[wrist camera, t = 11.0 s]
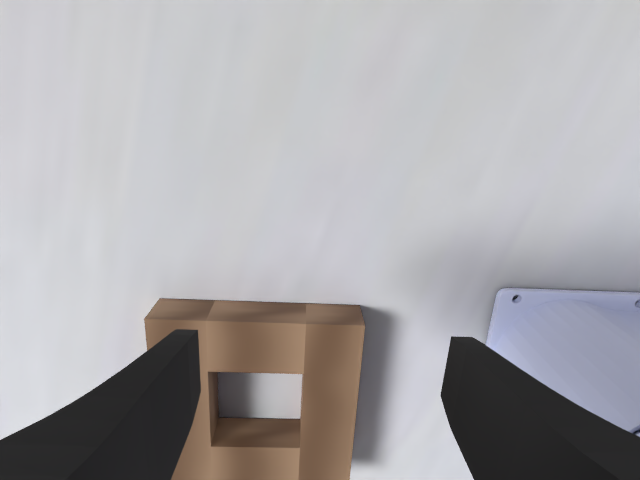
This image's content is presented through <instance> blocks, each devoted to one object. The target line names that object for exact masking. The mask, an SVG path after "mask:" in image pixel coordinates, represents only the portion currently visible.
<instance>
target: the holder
mask: <svg viewBox="0 0 640 480" xmlns="http://www.w3.org/2000/svg"><path fill="white" fill-rule="evenodd" d="M144 321H145V331H146V342H147V351H148V350H149V349H150V348H152V347H153V346H154V345H156V344H157V343H158V342H159V341H161V340H162V339H163V338H165V337H166V336H167V335H169V334H170V333H171V332H173V331H174V330H176V329H188V330H198V339H199V359H200V380H201V393H200V397H199V401H198V405H197V409H196V413H195V417H194V420H193V424H192V427H191V430H190V432H189V435H188V437H187V440H186V443H185V445H184V448H183V450H182V453H181V455H180V458H179V460H178V463H177V465H176V468H175V470H174V473H173V475H172V478H171V480H349V479H350V469H351V459H352V450H353V440H354V430H355V420H356V410H357V401H358V391H359V381H360V371H361V361H362V352H363V342H364V332H365V323H364V320H363V316H362V312H361V308H360V305H338V304H308V303H278V302H248V301H218V300H188V299H159V300H158V301H157V303H156V304H155V305H154V307H153V308H152V309H151V311H150V312H149V313H148V315H147V316H146V317H145V319H144ZM217 372H245V373H286V374H303V378H302V398H301V419H257V418H219V406H218V375H217Z"/></svg>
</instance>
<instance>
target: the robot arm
mask: <svg viewBox="0 0 640 480" xmlns="http://www.w3.org/2000/svg"><path fill="white" fill-rule="evenodd" d="M515 295H518V297H517V298H516V299H515V300H512V298H513V297H514V296H515ZM637 300H639V301H638V302H637V303H636V304H635V302H636V301H637ZM200 393H201V380H200V359H199V339H198V330H188V329H176V330H174V331H173V332H171V333H170V334H169V335H167V336H166V337H165V338H163V339H162V340H161V341H159V342H158V343H157V344H156V345H154V346H153V347H152V348H150V349H149V350H148V351H147V352H145V353H144V354H143V355H141V356H140V357H139V358H137V359H136V360H135V361H133V362H132V363H131V364H129V365H128V366H127V367H125V368H124V369H122V370H121V371H120V372H118V373H117V374H115V375H114V376H112V377H111V378H109V379H108V380H106V381H105V382H103V383H102V384H101V385H99V386H98V387H96V388H95V389H93V390H92V391H90V392H89V393H87V394H85V395H84V396H82V397H81V398H79V399H77V400H76V401H74V402H72V403H71V404H69V405H67V406H65V407H64V408H62V409H60V410H58V411H56V412H55V413H53V414H51V415H49V416H48V417H46V418H44V419H42V420H40V421H38V422H36V423H34V424H32V425H30V426H28V427H26V428H24V429H22V430H20V431H18V432H16V433H14V434H12V435H10V436H8V437H6V438H4V439H2V440H0V480H171V478H172V475H173V473H174V470H175V468H176V465H177V463H178V460H179V458H180V455H181V453H182V450H183V448H184V445H185V443H186V440H187V437H188V435H189V432H190V430H191V427H192V424H193V420H194V417H195V413H196V409H197V405H198V401H199V397H200ZM441 398H442V402H443V405H444V409H445V412H446V415H447V418H448V421H449V424H450V427H451V430H452V432H453V435H454V437H455V439H456V441H457V443H458V446H459V448H460V450H461V452H462V454H463V457H464V459H465V461H466V463H467V465H468V467H469V470H470V472H471V474H472V476H473V478H474V480H640V293H637V292H609V291H582V290H554V289H526V288H503V289H501V290H499V292H498V293H497V295H496V299H495V303H494V308H493V313H492V317H491V322H490V327H489V332H488V336H487V341H486V345H485V344H483V343H481V342H480V341H478V340H476V339H475V338H473V337H451V341H450V347H449V352H448V358H447V363H446V369H445V374H444V380H443V385H442V391H441Z"/></svg>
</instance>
